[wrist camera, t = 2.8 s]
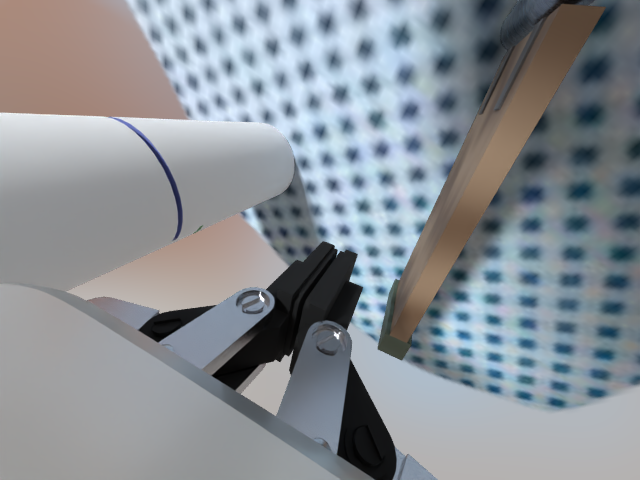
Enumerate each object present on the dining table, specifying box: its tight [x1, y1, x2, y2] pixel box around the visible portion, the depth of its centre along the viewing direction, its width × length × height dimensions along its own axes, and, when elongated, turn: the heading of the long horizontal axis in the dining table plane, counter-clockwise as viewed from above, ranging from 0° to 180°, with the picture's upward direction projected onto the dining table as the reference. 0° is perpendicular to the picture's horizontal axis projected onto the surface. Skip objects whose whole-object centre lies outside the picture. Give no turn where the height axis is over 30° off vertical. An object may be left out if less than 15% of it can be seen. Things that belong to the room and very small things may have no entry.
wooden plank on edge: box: [378, 4, 606, 360], centre depth 15 cm, size 19×2×7 cm, turn 169°
